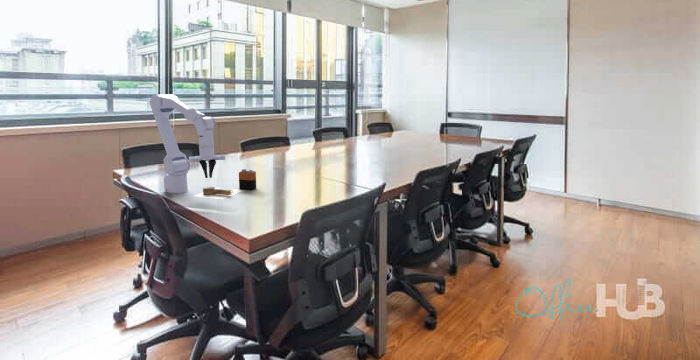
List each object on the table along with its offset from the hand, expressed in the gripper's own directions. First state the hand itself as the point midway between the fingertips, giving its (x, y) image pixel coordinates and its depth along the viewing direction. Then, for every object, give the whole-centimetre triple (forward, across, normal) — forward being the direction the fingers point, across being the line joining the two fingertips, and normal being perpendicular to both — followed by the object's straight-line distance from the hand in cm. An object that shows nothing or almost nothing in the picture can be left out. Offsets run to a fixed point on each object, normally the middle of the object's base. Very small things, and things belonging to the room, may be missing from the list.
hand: (208, 177), depth 182 cm
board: (+9, +5, +4) cm, 12 cm away
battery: (+10, +18, +7) cm, 22 cm away
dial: (+8, +4, +2) cm, 9 cm away
